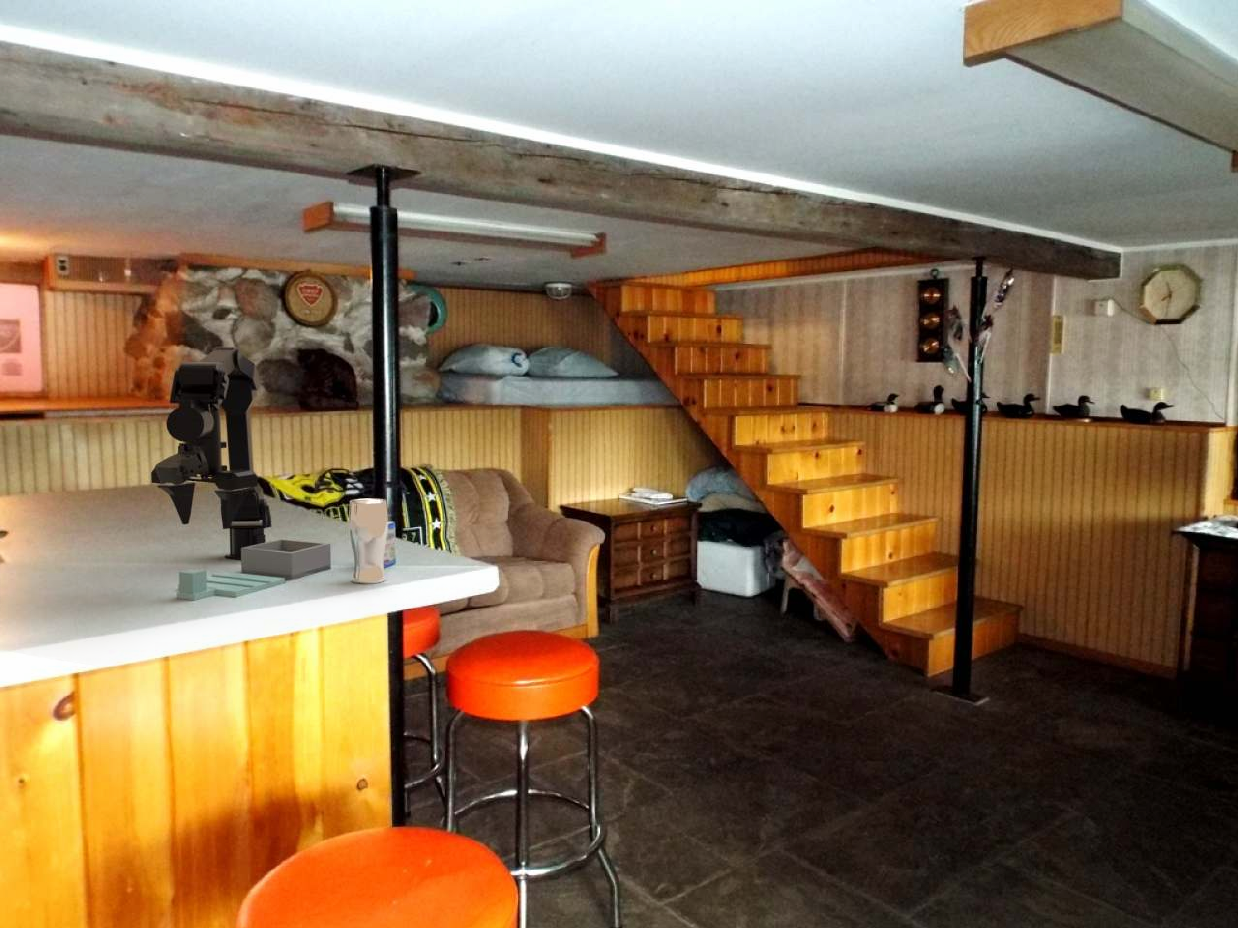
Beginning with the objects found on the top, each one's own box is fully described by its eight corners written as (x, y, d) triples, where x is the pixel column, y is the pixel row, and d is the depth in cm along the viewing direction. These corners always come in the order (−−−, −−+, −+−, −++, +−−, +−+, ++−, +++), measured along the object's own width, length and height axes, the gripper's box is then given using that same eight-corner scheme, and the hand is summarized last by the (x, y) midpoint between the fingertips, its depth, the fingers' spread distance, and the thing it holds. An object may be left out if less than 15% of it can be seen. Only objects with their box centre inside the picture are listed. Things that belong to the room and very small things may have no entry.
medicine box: (378, 571, 180) (378, 527, 179) (357, 570, 181) (357, 526, 180) (396, 563, 187) (395, 521, 187) (376, 562, 188) (375, 520, 188)
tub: (241, 573, 175) (240, 548, 175) (281, 563, 186) (281, 538, 185) (292, 579, 171) (291, 553, 171) (330, 568, 181) (330, 543, 181)
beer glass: (353, 576, 175) (352, 498, 173) (391, 576, 175) (390, 498, 174) (346, 584, 168) (345, 503, 167) (384, 584, 169) (384, 503, 167)
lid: (156, 595, 158) (156, 569, 157) (229, 577, 173) (228, 553, 173) (215, 603, 153) (215, 576, 153) (285, 583, 169) (284, 559, 168)
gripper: (122, 437, 154) (126, 529, 156) (208, 443, 147) (211, 539, 149) (175, 432, 164) (179, 519, 166) (258, 438, 158) (261, 527, 159)
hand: (205, 526), depth 160 cm, fingers open, 9 cm apart
